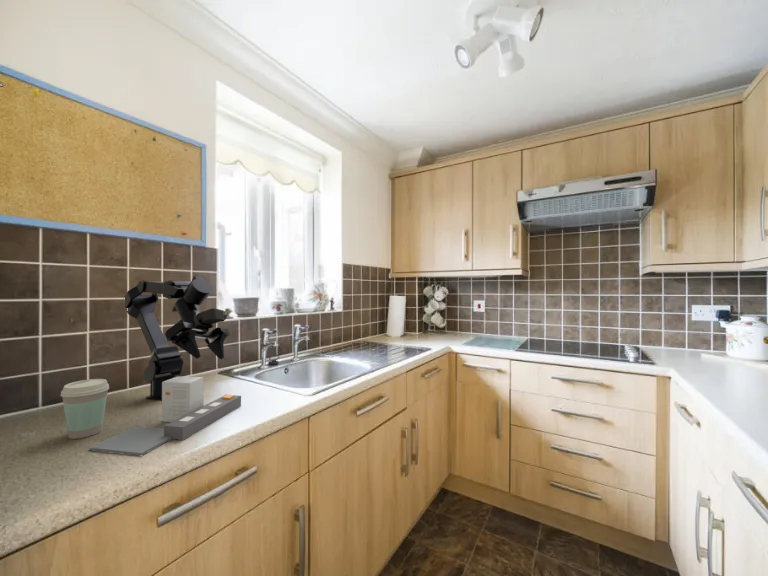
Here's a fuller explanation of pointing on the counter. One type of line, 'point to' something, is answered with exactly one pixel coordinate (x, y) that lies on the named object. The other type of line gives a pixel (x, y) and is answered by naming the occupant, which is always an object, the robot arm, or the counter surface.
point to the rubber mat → (133, 441)
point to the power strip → (201, 417)
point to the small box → (181, 397)
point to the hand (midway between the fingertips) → (211, 358)
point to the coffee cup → (84, 407)
